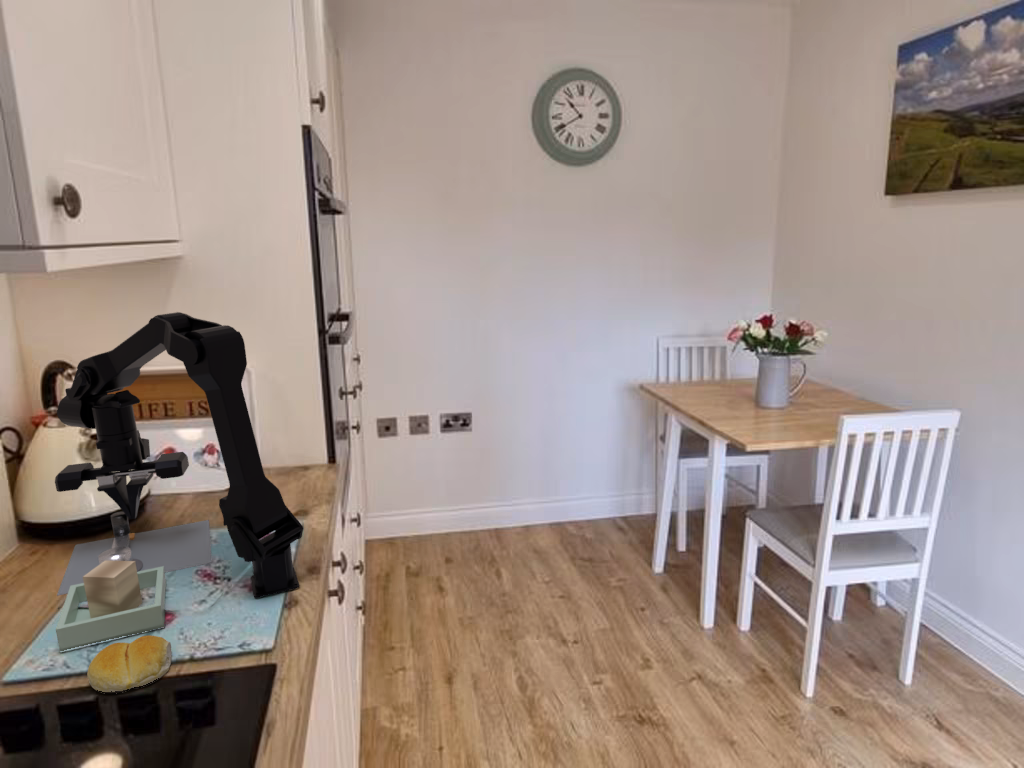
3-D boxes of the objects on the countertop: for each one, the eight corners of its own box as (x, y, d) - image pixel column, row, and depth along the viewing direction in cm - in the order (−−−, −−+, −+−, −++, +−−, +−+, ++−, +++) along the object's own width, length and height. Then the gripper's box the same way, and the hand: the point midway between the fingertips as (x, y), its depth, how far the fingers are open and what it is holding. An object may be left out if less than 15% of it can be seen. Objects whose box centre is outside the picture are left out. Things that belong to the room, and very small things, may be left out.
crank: (131, 570, 102) (126, 541, 101) (99, 577, 100) (93, 547, 99) (138, 535, 114) (134, 509, 113) (109, 541, 112) (104, 514, 111)
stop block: (142, 605, 95) (135, 561, 93) (122, 623, 90) (114, 577, 89) (113, 604, 95) (105, 560, 93) (91, 622, 91) (82, 576, 89)
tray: (164, 628, 90) (160, 605, 89) (60, 653, 85) (55, 629, 84) (166, 586, 100) (163, 566, 100) (74, 607, 95) (70, 585, 95)
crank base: (212, 568, 106) (211, 560, 105) (57, 601, 97) (56, 593, 97) (209, 524, 122) (208, 517, 121) (76, 550, 113) (74, 542, 113)
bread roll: (96, 664, 83) (91, 636, 82) (174, 646, 86) (170, 619, 85) (81, 706, 76) (75, 676, 75) (168, 685, 79) (163, 656, 78)
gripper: (187, 412, 118) (200, 493, 122) (70, 424, 113) (87, 508, 117) (174, 429, 108) (189, 517, 111) (44, 443, 103) (64, 534, 106)
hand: (133, 518), depth 112 cm, fingers closed
